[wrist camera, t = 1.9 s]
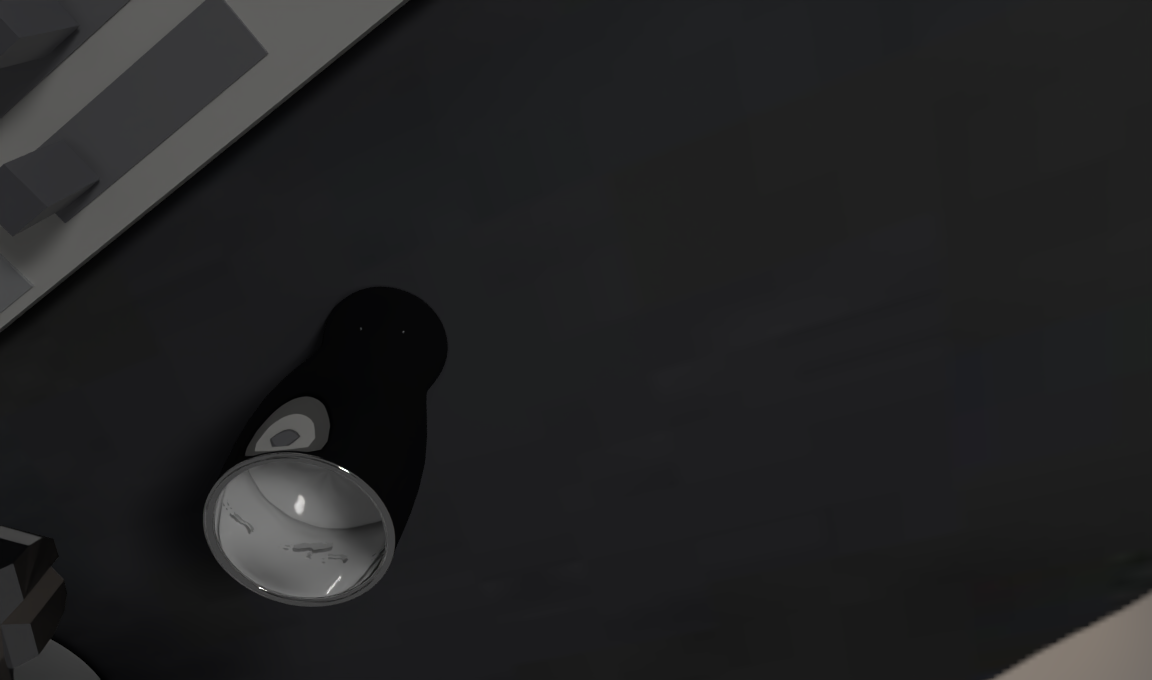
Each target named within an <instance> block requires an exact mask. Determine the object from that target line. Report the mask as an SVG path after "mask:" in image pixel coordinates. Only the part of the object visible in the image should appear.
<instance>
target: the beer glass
mask: <svg viewBox="0 0 1152 680" xmlns="http://www.w3.org/2000/svg"><path fill="white" fill-rule="evenodd" d="M447 352H448V343H447V336H446V332H445V329H444V327H443V324H442V322H441V320H440V319H439V317H438V316H437V314H436V313H435V312H434V310H433V309H432V308H431V307H430V306H429V305H428V304H427V303H425V302H424V301H423V300H421V299H420V298H418V297H417V296H415V295H413V294H411V293H409V292H406V291H404V290H401V289H397V288H392V287H370V288H365V289H362V290H359V291H356V292H354V293H352V294H350V295H349V296H347V297H346V298H344V299H343V300H342V301H340V302H339V303H338V304H337V305H336V306H335V308H334V309H333V310H332V312H331V314H330V315H329V317H328V320H327V322H326V325H325V329H324V333H323V338H322V343H321V346H320V348H319V349H318V350H317V351H316V352H315V353H314V354H313V355H311V356H310V357H309V358H308V359H306V360H305V361H304V362H303V363H301V364H300V365H299V366H298V367H297V368H295V369H294V370H293V371H292V372H291V373H290V374H288V375H287V376H286V377H285V378H284V379H283V380H282V381H281V382H280V383H279V384H278V385H277V386H276V387H275V388H274V389H273V390H272V391H271V392H270V393H269V394H268V395H267V396H266V397H265V399H264V400H263V401H262V403H261V404H260V405H259V407H258V408H257V409H256V411H255V412H254V413H253V415H252V416H251V417H250V419H249V420H248V422H247V424H246V425H245V427H244V429H243V430H242V432H241V434H240V435H239V437H238V439H237V440H236V442H235V444H234V446H233V448H232V450H231V452H230V454H229V456H228V458H227V460H226V462H225V464H224V466H223V468H222V470H221V473H220V475H219V477H218V479H217V481H216V482H215V484H214V485H213V487H212V488H211V490H210V492H209V494H208V496H207V499H206V502H205V505H204V510H203V529H204V534H205V538H206V541H207V543H208V546H209V548H210V550H211V552H212V554H213V555H214V557H215V559H216V560H217V561H218V563H219V564H220V565H221V567H222V568H223V569H224V570H225V571H226V572H227V573H228V574H229V575H230V576H231V577H232V578H234V579H235V580H236V581H237V582H239V583H240V584H241V585H243V586H244V587H246V588H247V589H249V590H251V591H253V592H254V593H256V594H258V595H261V596H263V597H265V598H268V599H270V600H273V601H276V602H280V603H284V604H288V605H294V606H303V607H321V606H330V605H335V604H340V603H343V602H346V601H349V600H352V599H354V598H356V597H358V596H360V595H362V594H364V593H365V592H367V591H368V590H370V589H371V588H372V587H374V586H375V585H376V584H377V583H378V582H379V581H380V580H381V579H382V577H383V576H384V575H385V573H386V572H387V570H388V568H389V566H390V564H391V562H392V559H393V556H394V552H395V549H396V547H397V544H398V542H399V540H400V538H401V536H402V533H403V531H404V529H405V526H406V524H407V521H408V519H409V516H410V514H411V511H412V508H413V505H414V502H415V499H416V497H417V494H418V490H419V487H420V483H421V478H422V474H423V469H424V465H425V458H426V445H427V404H426V401H427V391H428V390H429V389H430V387H431V386H432V385H433V384H434V382H435V381H436V379H437V378H438V377H439V375H440V373H441V372H442V370H443V367H444V365H445V362H446V358H447Z"/></svg>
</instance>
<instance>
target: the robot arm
mask: <svg viewBox="0 0 1152 680" xmlns="http://www.w3.org/2000/svg"><path fill="white" fill-rule="evenodd" d="M58 557H59V555H58V552H57V549H56V545H55V542H54V539H53V538H49V537H45V536H41V535H37V534H34V533H30V532H26V531H22V530H18V529H14V528H10V527H6V526H3V525H0V680H101V679H100V678H99V677H98V676H97V674H96V673H95V672H94V671H93V670H92V669H91V668H90V667H89V666H88V665H87V664H86V663H85V662H83V661H82V660H81V659H80V658H79V657H77V656H76V655H75V654H73V653H72V652H71V651H69V650H68V649H66V648H65V647H63V646H62V645H60V644H58V643H56V642H55V641H53V640H51V638H52V636H53V635H54V633H55V631H56V629H57V626H58V624H59V622H60V620H61V617H62V615H63V613H64V611H65V604H66V596H67V591H66V586H65V581H64V579H63V578H62V577H61V576H60V575H59V574H58V573H57V572H56V571H55V570H54V569H53V568H52V567H51V566H52V564H53V563H54V562H55V561H56V559H57V558H58Z"/></svg>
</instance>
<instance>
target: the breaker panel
mask: <svg viewBox="0 0 1152 680" xmlns="http://www.w3.org/2000/svg"><path fill="white" fill-rule="evenodd" d="M58 1H59V3H60V4H61V5H62V6H63V7H64V8H65V9H66V10H67V11H68V12H69V14H70V15H71V16H72V17H73V18H74V19H75V20H76V21H77V22H78V23H79V25H80V26H79V27H78V28H77V29H76V30H75V31H74V32H72V33H71V34H70V35H69V36H68V37H67V38H66V39H65V40H64V41H63V42H62V43H60V44H59V45H58V46H57V47H56V48H55V49H54V50H53V51H52V52H51V53H50V54H49V55H47V56H46V57H43V58H39V59H36V60H32V61H28V62H24V63H20V64H16V65H12V66H8V67H4V68H0V332H1V331H3V330H4V329H6V328H7V327H8V326H9V325H10V324H12V323H13V322H14V321H15V320H17V319H18V318H19V317H20V316H21V315H23V314H24V313H25V312H26V311H28V310H29V309H30V308H31V307H33V306H34V305H35V304H36V303H37V302H39V301H40V300H41V299H42V298H44V297H45V296H46V295H47V294H49V293H50V292H51V291H52V290H53V289H55V288H56V287H57V286H58V285H60V284H61V283H62V282H63V281H65V280H66V279H67V278H68V277H69V276H71V275H72V274H73V273H74V272H76V271H77V270H78V269H79V268H81V267H82V266H83V265H84V264H85V263H87V262H88V261H89V260H90V259H92V258H93V257H94V256H95V255H97V254H98V253H99V252H100V251H101V250H103V249H104V248H105V247H106V246H108V245H109V244H110V243H111V242H113V241H114V240H115V239H116V238H117V237H119V236H120V235H121V234H122V233H124V232H125V231H126V230H127V229H129V228H130V227H131V226H132V225H133V224H135V223H136V222H137V221H138V220H140V219H141V218H142V217H143V216H145V215H146V214H147V213H148V212H149V211H151V210H152V209H153V208H154V207H156V206H157V205H158V204H159V203H161V202H162V201H163V200H164V199H165V198H167V197H168V196H169V195H170V194H172V193H173V192H174V191H175V190H177V189H178V188H179V187H180V186H181V185H183V184H184V183H185V182H186V181H188V180H189V179H190V178H191V177H193V176H194V175H195V174H196V173H197V172H199V171H200V170H201V169H202V168H204V167H205V166H206V165H207V164H209V163H210V162H211V161H212V160H213V159H215V158H216V157H217V156H218V155H220V154H221V153H222V152H223V151H225V150H226V149H227V148H228V147H229V146H231V145H232V144H233V143H234V142H236V141H237V140H238V139H239V138H241V137H242V136H243V135H244V134H245V133H247V132H248V131H249V130H250V129H252V128H253V127H254V126H255V125H257V124H258V123H259V122H260V121H261V120H263V119H264V118H265V117H266V116H268V115H269V114H270V113H271V112H273V111H274V110H275V109H276V108H277V107H279V106H280V105H281V104H282V103H284V102H285V101H286V100H287V99H289V98H290V97H291V96H292V95H293V94H295V93H296V92H297V91H298V90H300V89H301V88H302V87H303V86H305V85H306V84H307V83H308V82H309V81H311V80H312V79H313V78H314V77H316V76H317V75H318V74H319V73H321V72H322V71H323V70H324V69H325V68H327V67H328V66H329V65H330V64H332V63H333V62H334V61H335V60H337V59H338V58H339V57H340V56H341V55H343V54H344V53H345V52H346V51H348V50H349V49H350V48H351V47H353V46H354V45H355V44H356V43H357V42H359V41H360V40H361V39H362V38H364V37H365V36H366V35H367V34H369V33H370V32H371V31H372V30H373V29H375V28H376V27H377V26H378V25H380V24H381V23H382V22H383V21H385V20H386V19H387V18H388V17H389V16H391V15H392V14H393V13H394V12H396V11H397V10H398V9H399V8H401V7H402V6H403V5H404V4H405V3H407V2H408V1H409V0H58Z"/></svg>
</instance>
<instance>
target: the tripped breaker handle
mask: <svg viewBox="0 0 1152 680" xmlns="http://www.w3.org/2000/svg"><path fill="white" fill-rule="evenodd" d="M79 26H80V25H79V23H78V22H77V21H76V20H75V19H74V18H73V17H72V16H71V15H70V14H69V12H68V11H67V10H66V9H65V8H64V7H63V6H62V5H61V4H60V3H59V1H58V0H0V68H4V67H8V66H12V65H16V64H20V63H24V62H28V61H32V60H36V59H39V58H43V57H46V56H47V55H49V54H50V53H51V52H52V51H53V50H54V49H55V48H56V47H57V46H58V45H59V44H60V43H62V42H63V41H64V40H65V39H66V38H67V37H68V36H69V35H70V34H71V33H72V32H74V31H75V30H76V29H77V28H78V27H79Z"/></svg>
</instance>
